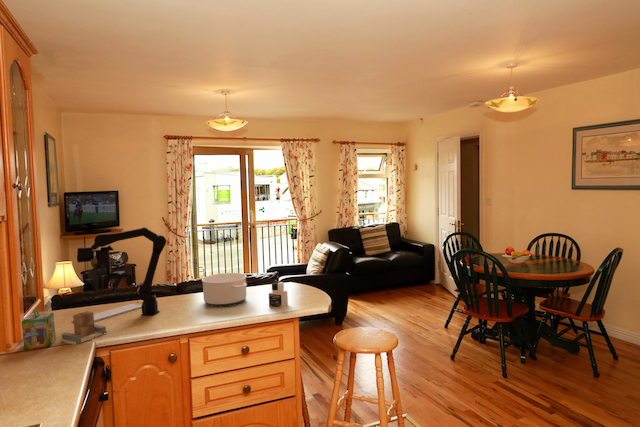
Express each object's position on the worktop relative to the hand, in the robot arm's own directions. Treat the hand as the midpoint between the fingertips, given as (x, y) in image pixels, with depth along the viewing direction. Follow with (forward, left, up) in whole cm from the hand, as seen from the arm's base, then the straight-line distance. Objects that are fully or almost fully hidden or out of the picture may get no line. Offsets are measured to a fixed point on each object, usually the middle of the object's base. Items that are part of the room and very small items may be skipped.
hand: (105, 293), depth 192 cm
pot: (-47, -30, -13) cm, 57 cm away
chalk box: (+8, +30, -13) cm, 34 cm away
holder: (-5, +22, -13) cm, 26 cm away
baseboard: (+6, -9, -14) cm, 18 cm away
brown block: (-5, +21, -12) cm, 25 cm away
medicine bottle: (-77, -25, -13) cm, 82 cm away
